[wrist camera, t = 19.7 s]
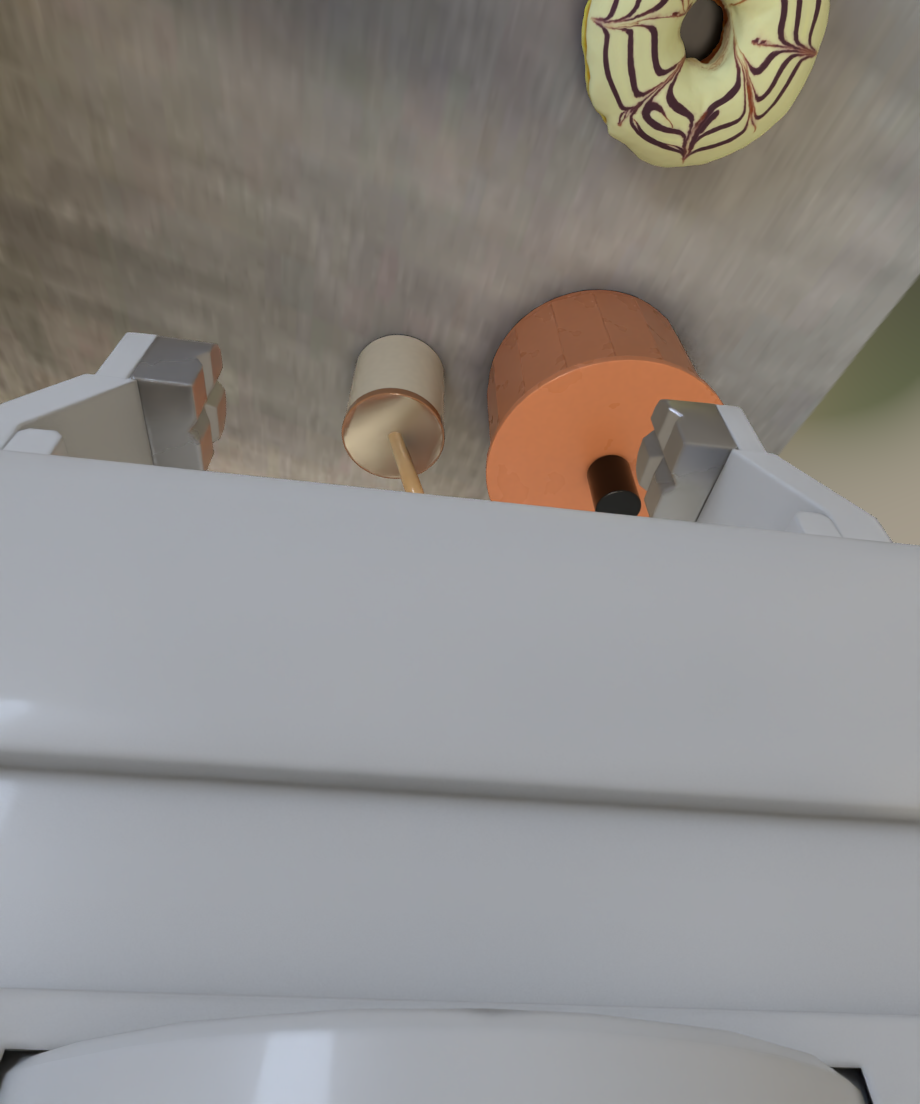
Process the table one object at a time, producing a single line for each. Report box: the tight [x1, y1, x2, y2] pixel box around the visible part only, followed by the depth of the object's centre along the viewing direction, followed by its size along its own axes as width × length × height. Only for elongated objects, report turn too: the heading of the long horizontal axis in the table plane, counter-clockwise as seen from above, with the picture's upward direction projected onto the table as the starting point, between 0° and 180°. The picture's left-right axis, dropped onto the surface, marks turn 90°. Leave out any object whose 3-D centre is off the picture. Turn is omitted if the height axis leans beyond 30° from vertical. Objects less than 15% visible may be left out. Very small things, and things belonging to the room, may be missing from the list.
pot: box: [487, 290, 699, 443], centre depth 42 cm, size 13×13×9 cm
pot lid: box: [486, 355, 724, 517], centre depth 38 cm, size 14×14×4 cm
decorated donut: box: [581, 0, 830, 168], centre depth 31 cm, size 10×11×4 cm
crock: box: [342, 335, 445, 494], centre depth 39 cm, size 7×6×17 cm
